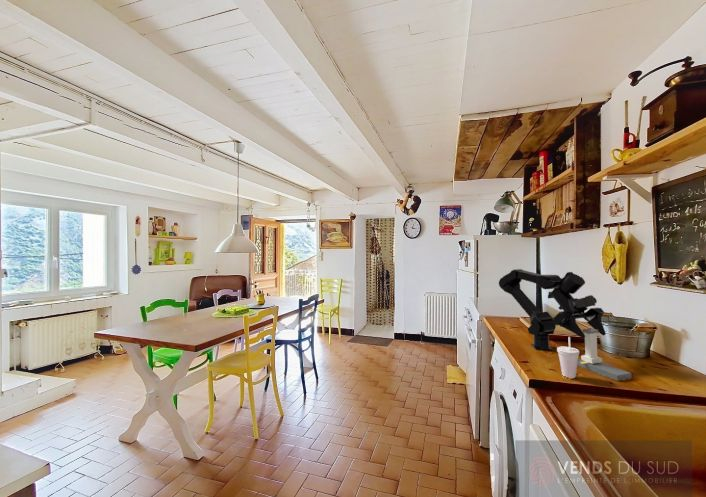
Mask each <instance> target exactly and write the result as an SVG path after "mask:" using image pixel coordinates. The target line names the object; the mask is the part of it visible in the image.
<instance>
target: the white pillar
mask: <svg viewBox="0 0 706 497" xmlns="http://www.w3.org/2000/svg"><path fill="white" fill-rule="evenodd" d="M582 332H583V333H584V335H585V338H584V349H585V350H584V351H585V353H584V354H583V355H582V354H581V356H580V357H581V359H582V360H583V361H586V362H589V363H591V364H594V363H600V362H602V363H603V361H602V360H603V358H602V357H600V356H598V338H597V336H598V333H599V332H598V330H596V329H594V328H593V327H588V328H584V329H582Z"/></svg>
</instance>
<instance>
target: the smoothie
mask: <svg viewBox="0 0 706 497" xmlns="http://www.w3.org/2000/svg"><path fill="white" fill-rule="evenodd" d="M567 340H568V346H562V345H561V346H557V347H556V352H557V354H558V359H559V364H560V370H561V375H563V376H566V377H569V378H575V377H577V369H578V365H577V362H578V360H579V355H580V350H579V349H577V348H575V347H571V336H568V339H567ZM563 376H562V377H563Z"/></svg>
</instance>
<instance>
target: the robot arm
mask: <svg viewBox="0 0 706 497" xmlns="http://www.w3.org/2000/svg"><path fill="white" fill-rule="evenodd" d="M522 281H526V282H530V283H532V284H536V286H538V287H539V288H541V289H543V290H551V291H548V294H547V298H548V299H554V301H555V302H556V303H557V304H558V305H559V306H558V309H559V310H560V311H558V312H557V313H556V314H555V316H554V317H553V316H552V315H551V314H550V313H549V312H548V311H541V310H540V309H539V308H538V307H537V306H536V305H535V303H534V302H532V300H531V299H530V298H529V297H528V296H527V294H526V293H525V292H524V291H523V290H522V289H521V284H520V283H522ZM584 285H586V281H585V279H584V278H583V277H582V276H579V275H578V274H575V273H573V271H567V272H566V273H565V275H564V276H563V277H560V275H558V274H540V273H537V272H532V271H529V270H523V269H521V268H518V269H512V270H510V272H509V273H506V274H505V275H503V276H502V277H500V279H499V281H498V286H499V287H500V289H501V290H503V291H504V292H505V293H508V294H510V296H512V298H514V299H515V301H516V302H517V303H518V304H519V306H520V307H521V308H522V309H523V311H524V312H525V313H526V315H528V316H529V320H530V321H529V322H530V326H529V327H527V331H528V334H530V335H533V343H531V344H530V346H532V347H533V349H534V350H539V351H553V348H552V347H551V346H550V335H554V333H555V330H556V327H557V326H559V327H560V328H564V329H566V331H567V330H568V331H569V332H571V333H573V334H575V335H576V336H578V337H580V338H581V339H585V332H583V329H581V327H580V326H579V325H578V323H577V320H576V319H584V320H585V321H587V323H586V324H587V325H589V326H590V327H591V328H592V329H596V330H598V333H599V334H600V335H602V336H604V337H605V336H606V335H607V333H606V331H605V328H604V325H603V322H602V317H603V316H604V314H605V311H604V309H603V308H602V307H594V306H596V304H597V299H596V298H595V296H594V295H592V294H590V295H587V296H584V297H581V298H577V297H575V298H574V297H573V295H574V294H576V293H577V292H578V291H579V290H580V289H581V288H582V287H583V286H584ZM590 307H591V308H590ZM588 308H589V309H588Z"/></svg>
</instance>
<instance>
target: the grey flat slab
mask: <svg viewBox="0 0 706 497" xmlns="http://www.w3.org/2000/svg"><path fill="white" fill-rule="evenodd" d="M580 366H581V367H580ZM577 367H580V368H583V367H584V368H583V369H585V368H586V370H587V371H590V370H591V371H590V372H594V373H595V372H596V374H598V375H600V374H601V375H600V376H603V377H605V376H607V377H610V378H612V379H615V380H623V379H628V380H631V379H632V373H631V372H629V371H628V370H627V371H626V370H624V369H621V368H618V367H616V366H613V365H612V364H611V365H610V364H608V363H606V362H604V360H603V359H602V362H600V363H594V364H591V363H589V362H586V361H583V360H582V358H581V359H578V362H577ZM607 377H606V378H607ZM610 378H609V379H610ZM630 378H631V379H630ZM612 379H611V380H612ZM615 380H614V381H615ZM623 381H624V380H623Z"/></svg>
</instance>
